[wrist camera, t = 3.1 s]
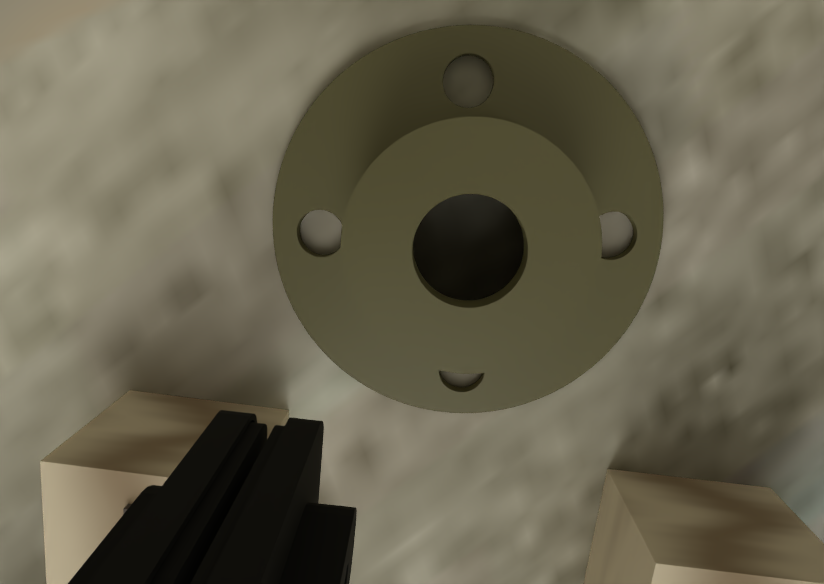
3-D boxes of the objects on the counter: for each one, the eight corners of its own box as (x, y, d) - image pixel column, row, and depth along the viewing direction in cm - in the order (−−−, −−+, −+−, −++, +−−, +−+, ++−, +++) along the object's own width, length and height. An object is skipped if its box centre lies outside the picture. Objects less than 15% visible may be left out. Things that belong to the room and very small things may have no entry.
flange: (224, 1, 17) (256, 454, 21) (738, -3, 17) (678, 465, 20) (268, 31, 22) (288, 399, 26) (674, 28, 21) (635, 406, 25)
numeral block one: (289, 408, 25) (242, 492, 19) (280, 546, 27) (234, 662, 21) (131, 389, 26) (34, 465, 19) (132, 527, 27) (43, 637, 21)
